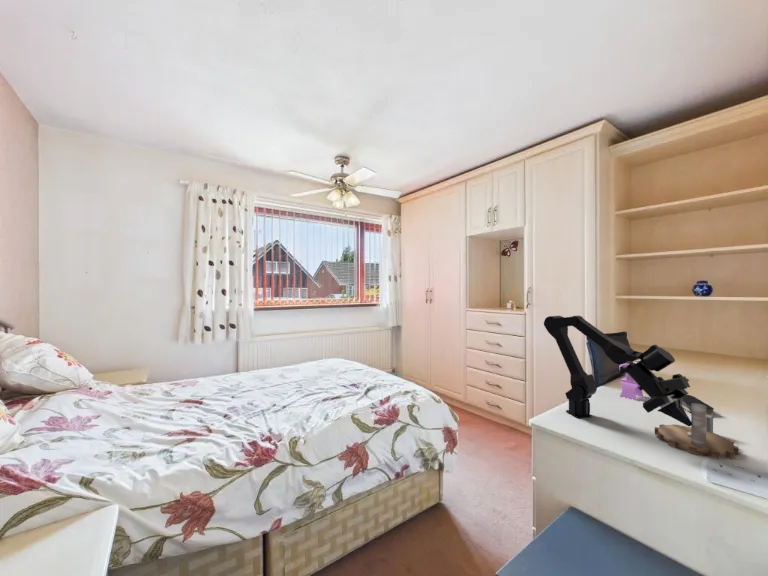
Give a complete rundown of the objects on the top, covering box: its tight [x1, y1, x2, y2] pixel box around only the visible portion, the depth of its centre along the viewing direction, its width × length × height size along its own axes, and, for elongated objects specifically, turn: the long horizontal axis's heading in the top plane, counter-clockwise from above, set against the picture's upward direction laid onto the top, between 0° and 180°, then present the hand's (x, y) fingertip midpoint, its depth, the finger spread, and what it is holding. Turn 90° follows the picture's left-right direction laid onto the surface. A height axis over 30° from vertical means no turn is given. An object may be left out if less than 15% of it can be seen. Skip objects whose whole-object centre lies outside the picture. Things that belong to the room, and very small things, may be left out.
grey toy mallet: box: [706, 414, 714, 433], centre depth 107 cm, size 3×6×6 cm, turn 123°
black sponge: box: [679, 394, 715, 417], centre depth 130 cm, size 16×8×4 cm, turn 160°
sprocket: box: [654, 403, 740, 460], centre depth 101 cm, size 19×19×14 cm
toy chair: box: [618, 363, 644, 401], centre depth 143 cm, size 8×9×15 cm
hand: (690, 425), depth 95 cm, fingers closed
